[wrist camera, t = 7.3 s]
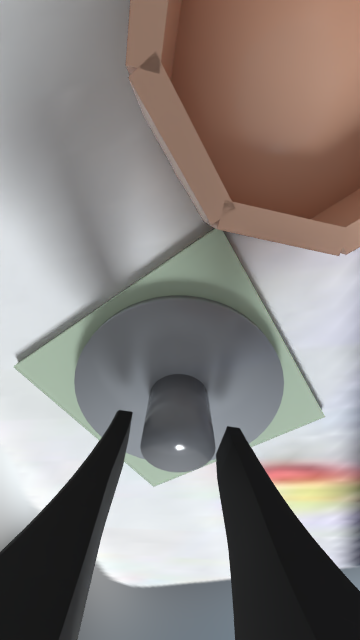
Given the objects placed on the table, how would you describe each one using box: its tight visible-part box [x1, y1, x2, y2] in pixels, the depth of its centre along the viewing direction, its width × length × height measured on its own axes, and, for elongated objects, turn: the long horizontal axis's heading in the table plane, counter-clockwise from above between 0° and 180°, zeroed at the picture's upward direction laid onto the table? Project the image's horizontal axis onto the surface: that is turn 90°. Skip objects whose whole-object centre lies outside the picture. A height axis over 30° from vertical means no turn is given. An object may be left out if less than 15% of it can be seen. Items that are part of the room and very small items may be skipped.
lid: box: [74, 295, 284, 472], centre depth 12 cm, size 11×11×4 cm
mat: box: [14, 228, 325, 487], centre depth 14 cm, size 13×13×1 cm
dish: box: [126, 0, 360, 256], centre depth 7 cm, size 10×10×3 cm
